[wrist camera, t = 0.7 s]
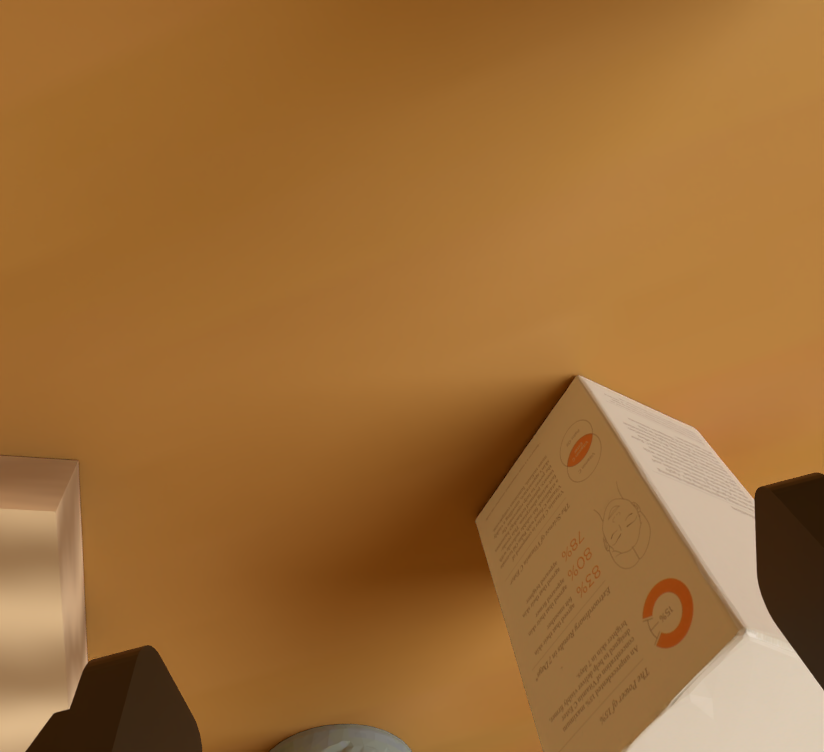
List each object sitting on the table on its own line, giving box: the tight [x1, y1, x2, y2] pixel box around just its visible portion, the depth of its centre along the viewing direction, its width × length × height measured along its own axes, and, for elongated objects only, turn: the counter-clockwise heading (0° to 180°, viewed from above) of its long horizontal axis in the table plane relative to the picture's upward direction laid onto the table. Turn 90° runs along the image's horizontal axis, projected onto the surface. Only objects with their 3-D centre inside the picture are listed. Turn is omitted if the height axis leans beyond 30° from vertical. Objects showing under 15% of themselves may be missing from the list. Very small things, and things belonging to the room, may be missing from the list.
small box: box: [475, 376, 824, 752], centre depth 26 cm, size 8×6×13 cm
